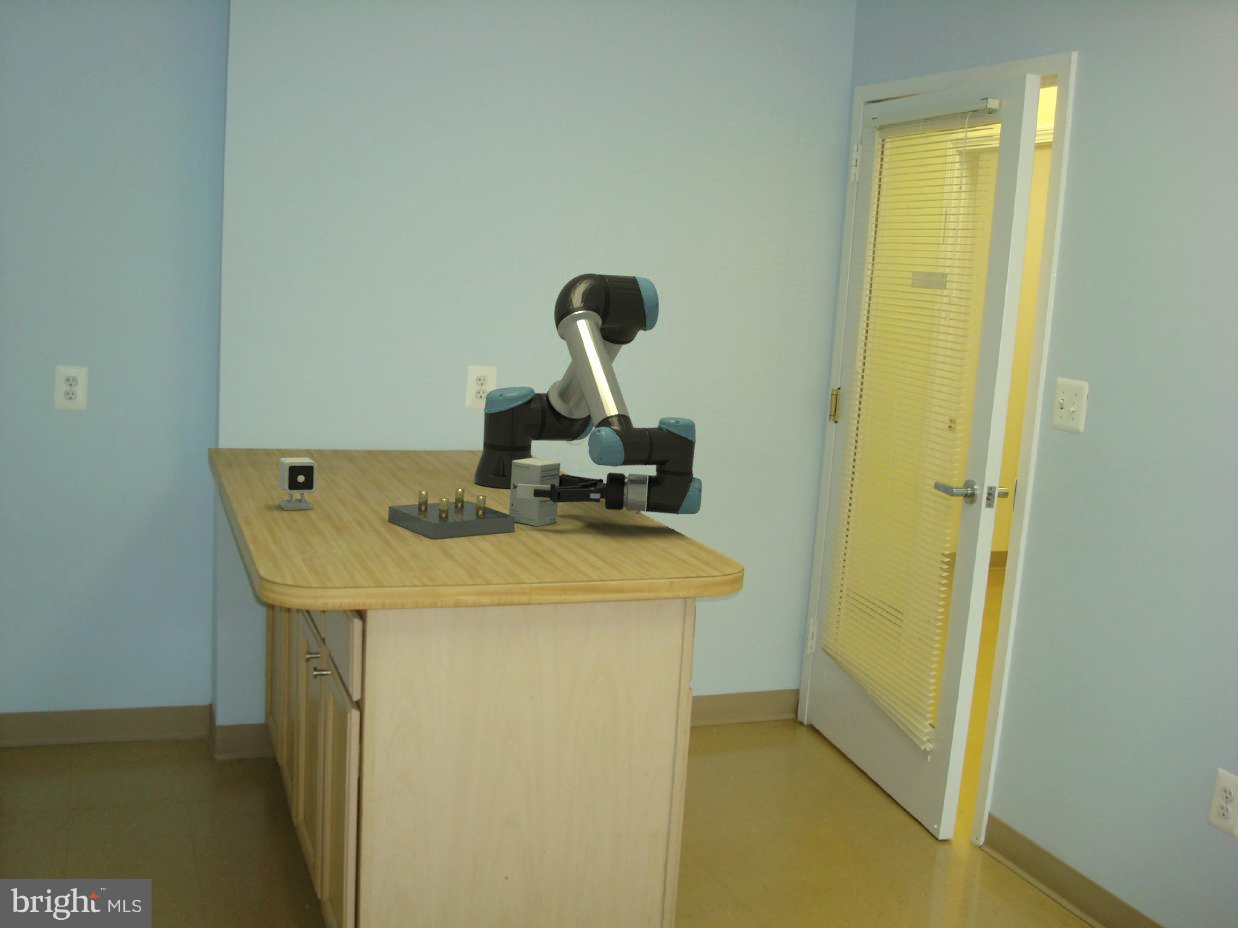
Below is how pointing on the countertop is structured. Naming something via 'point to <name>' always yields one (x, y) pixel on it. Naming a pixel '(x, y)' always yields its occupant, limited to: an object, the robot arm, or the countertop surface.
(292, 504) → the security camera
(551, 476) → the supplement box
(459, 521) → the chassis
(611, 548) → the countertop surface
